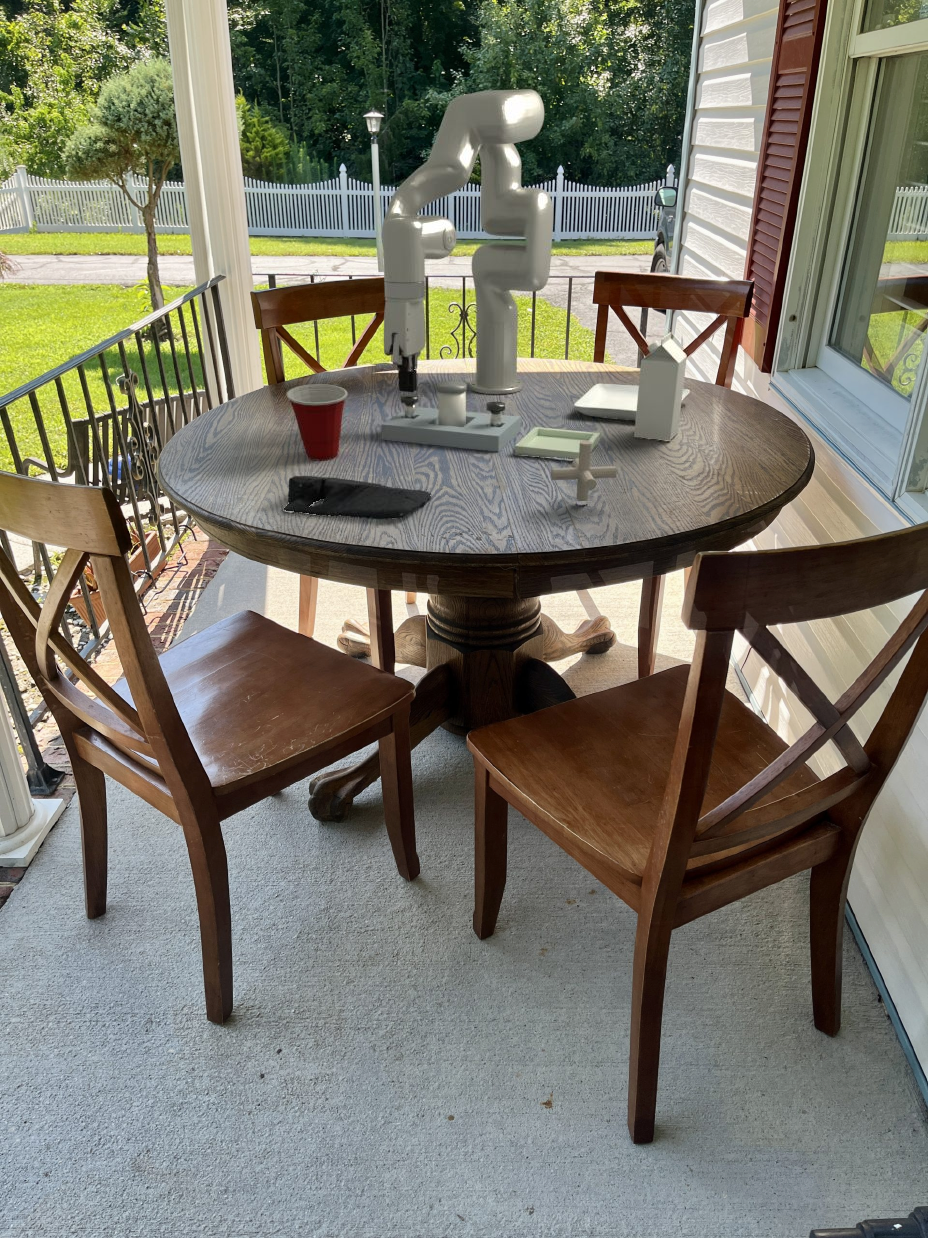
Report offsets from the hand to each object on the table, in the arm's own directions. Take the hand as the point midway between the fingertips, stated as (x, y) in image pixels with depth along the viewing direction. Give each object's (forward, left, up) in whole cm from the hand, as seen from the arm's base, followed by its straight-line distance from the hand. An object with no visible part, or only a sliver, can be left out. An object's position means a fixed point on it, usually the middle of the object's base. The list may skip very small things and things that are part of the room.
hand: (407, 390), depth 166 cm
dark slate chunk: (+39, +8, -9) cm, 41 cm away
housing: (0, +9, -8) cm, 12 cm away
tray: (+1, +31, -8) cm, 32 cm away
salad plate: (-30, +39, -9) cm, 50 cm away
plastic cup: (+20, -9, -8) cm, 23 cm away
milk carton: (-13, +47, -8) cm, 50 cm away
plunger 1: (0, 0, -7) cm, 7 cm away
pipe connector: (+28, +42, -8) cm, 51 cm away
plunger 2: (0, +18, -7) cm, 19 cm away
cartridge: (0, +9, -8) cm, 12 cm away
